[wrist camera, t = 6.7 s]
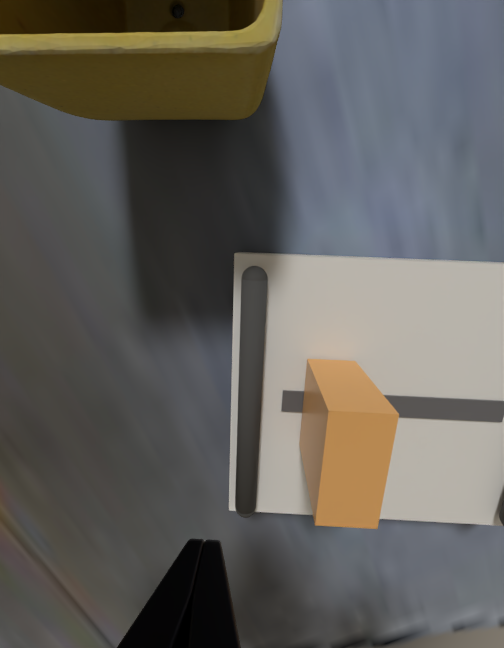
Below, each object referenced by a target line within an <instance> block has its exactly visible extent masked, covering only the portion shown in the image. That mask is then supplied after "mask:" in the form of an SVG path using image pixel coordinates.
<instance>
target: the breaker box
mask: <svg viewBox="0 0 504 648" xmlns="http://www.w3.org/2000/svg"><path fill="white" fill-rule="evenodd" d="M250 266H259V267H261V268H263V269H264V270H265V272H266V273H267V277H268V285H267V304H266V323H265V343H264V362H263V382H262V401H261V421H260V440H259V460H258V479H257V498H256V509H255V512H268V513H286V514H304V515H313V512H312V507H311V502H310V497H309V492H308V486H307V481H306V476H305V471H304V466H303V461H302V456H301V450H300V445H299V442H300V431H301V420H302V410H303V399H304V388H305V377H306V367H307V359H326V360H347V361H356V362H357V364H358V365H359V366H360V367H361V368H362V370H363V371H364V372H365V373H366V374H367V376H368V377H369V378H370V379H371V381H372V382H373V383H374V384H375V385H376V387H377V388H378V389H379V390H380V391H381V393H382V394H383V395H384V396H385V398H386V399H387V400H388V401H389V402H390V404H391V405H392V406H393V407H394V409H395V410H396V411H397V412H398V413H399V418H398V423H397V428H396V434H395V439H394V444H393V449H392V455H391V460H390V465H389V471H388V476H387V481H386V486H385V492H384V497H383V502H382V507H381V513H380V518H379V519H393V520H410V521H428V522H446V523H464V524H482V525H499V526H503V524H502V523H501V521H500V518H499V513H500V510H501V506H502V503H503V500H504V262H481V261H456V260H430V259H405V258H380V257H354V256H329V255H304V254H278V253H253V252H237V253H234V295H233V342H232V388H231V435H230V481H229V510H232V511H236V509H235V490H236V454H237V419H238V384H239V348H240V313H241V278H242V274H243V272H244V271H245V269H247V268H248V267H250Z"/></svg>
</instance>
